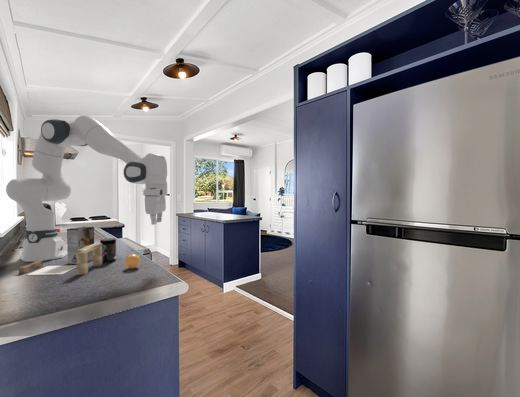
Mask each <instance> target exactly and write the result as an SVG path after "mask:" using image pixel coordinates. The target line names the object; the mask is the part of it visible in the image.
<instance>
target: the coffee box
mask: <svg viewBox="0 0 520 397" xmlns="http://www.w3.org/2000/svg"><path fill="white" fill-rule="evenodd" d="M66 236H67V237H66V240H67V241H66V242H67V243H66V250H67V254H68V255H67V264H68V265H69V264H70V265H72V264H73V265H77V250H79V249H82V248H84V247H87V246H89V245H92V244H95V226H78V227H77V226H76V227H69V228H66ZM91 261H93V250H91V251H89V252H88V262H91Z"/></svg>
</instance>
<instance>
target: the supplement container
mask: <svg viewBox="0 0 520 397" xmlns="http://www.w3.org/2000/svg"><path fill="white" fill-rule="evenodd" d="M99 243H102V264H103V263H105V264H107V263H113V262H115V261H116V260H117V238H116V237H107V238H101V239H100V240H99Z"/></svg>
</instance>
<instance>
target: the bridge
mask: <svg viewBox="0 0 520 397" xmlns="http://www.w3.org/2000/svg"><path fill="white" fill-rule="evenodd" d="M91 250H93V260H92V266H93V267H98V266H99V267H101V266H102V265H103V262H102V243H100V242H97V243H96V242H94V244H92V245H89V246H87V247H84V248H82V249H79V250H77V264H76V265H77V267H76V274H77V275H78V276H80V275H84V276H85V275H87V274H88V273H89V261H88V252H89V251H91Z"/></svg>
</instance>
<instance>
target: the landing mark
mask: <svg viewBox="0 0 520 397" xmlns="http://www.w3.org/2000/svg"><path fill="white" fill-rule="evenodd" d="M74 269H77V264H73V265H72V264H70V265H69V264H68V265H46V266H45V267H41V268H38V269H36V270H33V271H31V272H29V273H26V276H49V275H50V276H51V275H52V276H53V275H57V276H58V275H64V274H66V273H68V272H70V271H72V270H74Z"/></svg>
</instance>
